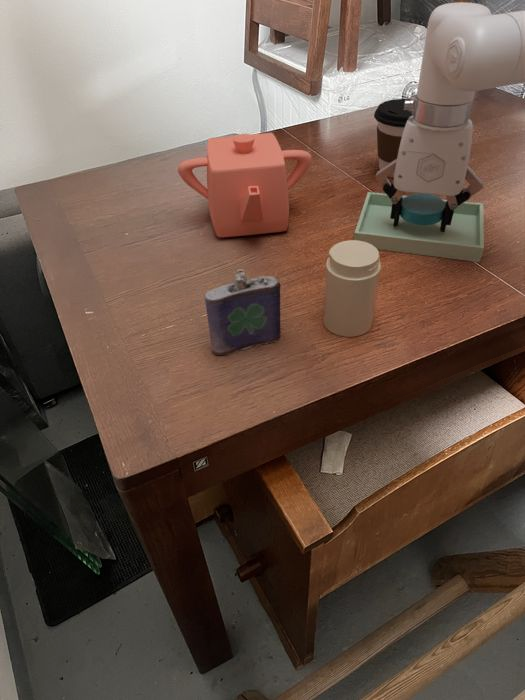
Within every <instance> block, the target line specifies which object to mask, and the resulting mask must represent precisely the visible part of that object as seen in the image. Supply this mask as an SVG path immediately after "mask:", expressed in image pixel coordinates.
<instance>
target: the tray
mask: <svg viewBox="0 0 525 700" xmlns="http://www.w3.org/2000/svg"><path fill="white" fill-rule="evenodd" d="M365 196H366V197H365V199H364V202H363V206H362V209H361V211H360V214H359V217H358V221H357V224H356V227H355V229H354V234H353V240H358V241H364V242H367V243H369V244H371V245H373V246H374V247H376V248H377V250H378V251H379V250H380V251H386V252H394V253H403V254H411V255H419V256H425V257H426V256H429V257H435V258H442V259H451V260H459V261H466V262H475V263H480V262H481V260H482V256H483V253H484V251H485V222H484V220H485V217H484V216H485V215H484V203H483V202H473V201H465V202H464V203H462V204H460V205H459V206H457V208H456V209H455V210H454V213H453V217H452V221H451V225H446V228H445V232H441V231H440V226H441V221H440V222H438V223H435V224H432V225H416V224H412V223H409V222H407V221H405V220H404V219H403V218H402V217H401V216H400V218H399V222H398V226H396V227H394V226H393V224H394V219H390V216H391V209H392V202H391V199H390V198H389V197H388V196H387V194H386V193H384V192H383V193H382V192H373V191H368V192H367V194H366V195H365ZM407 196H408V195H403V196H402V198H403V199H404V198H405V197H407ZM441 199H442V200H443V201H444V202H447V199H443V198H441Z"/></svg>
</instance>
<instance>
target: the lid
mask: <svg viewBox="0 0 525 700" xmlns="http://www.w3.org/2000/svg"><path fill="white" fill-rule="evenodd" d="M406 196H407V197H405V198H404V199H403V200H402V204H401V210H400V216H401V217H402V218H403V219H404V220H405V221H407V222H409V223H412V224H416V225H432V224H435V223H438V222H440V221H441V220H442V219H443V215H444V210H445V202H444V201H443V200H444V199H443V198H440V196H437V195H429V194H419V193H412V194H410V195H406ZM442 199H443V200H442Z"/></svg>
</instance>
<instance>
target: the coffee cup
mask: <svg viewBox="0 0 525 700" xmlns="http://www.w3.org/2000/svg"><path fill="white" fill-rule="evenodd" d="M411 99H412V98H393V99H390V100H385V101H383V102H381V103H379V104H378V106H377V108H376V109H375V112H374V114H373V118H374V119H375V121H376V122H377V126H376V143H377V144H376V145H377V157H378V168H379V171H380V170H381V169H382V168H384V167H385V166H387V165H388V164H390V163H391V162H393V161H394V160H396V159H397V156H398V151H399V147H400V142H401V138H402V134H403V131H404V128H405V125H406V123H407V120H408V118H409V117H410V116H412V115H413V114H411V113H412V112H409V110H404V104H405V100H411ZM394 173H395V172H394ZM394 173H392V174H391V175H389V176H388V177H387V178H392V179H394Z"/></svg>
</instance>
